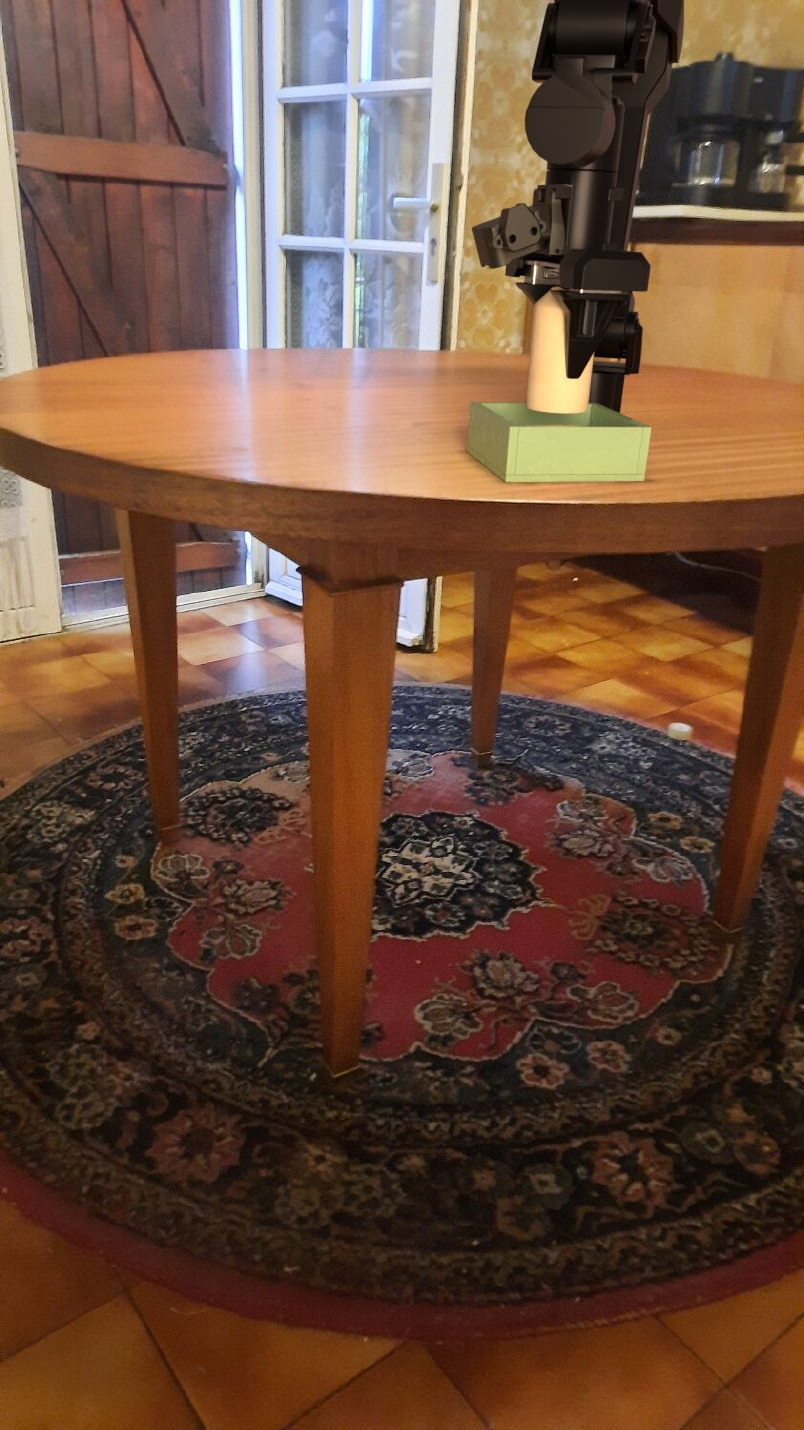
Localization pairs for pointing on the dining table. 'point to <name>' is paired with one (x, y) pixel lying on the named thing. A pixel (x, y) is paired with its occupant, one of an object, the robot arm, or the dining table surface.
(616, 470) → the green open tray
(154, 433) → the dining table surface
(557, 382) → the candle
